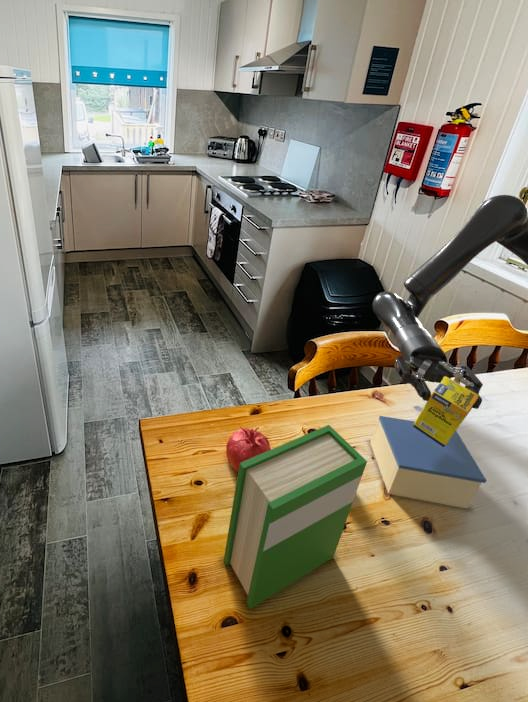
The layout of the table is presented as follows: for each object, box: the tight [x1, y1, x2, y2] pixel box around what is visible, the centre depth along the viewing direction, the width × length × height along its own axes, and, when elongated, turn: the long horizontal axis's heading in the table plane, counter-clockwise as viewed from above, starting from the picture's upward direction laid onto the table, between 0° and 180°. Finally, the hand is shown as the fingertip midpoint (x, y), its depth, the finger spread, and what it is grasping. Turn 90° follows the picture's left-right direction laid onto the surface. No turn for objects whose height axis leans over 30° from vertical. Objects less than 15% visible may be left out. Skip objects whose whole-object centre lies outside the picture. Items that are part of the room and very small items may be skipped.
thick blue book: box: [370, 418, 482, 510], centre depth 82 cm, size 15×13×8 cm
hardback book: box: [223, 424, 368, 610], centre depth 63 cm, size 18×7×24 cm, turn 116°
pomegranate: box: [225, 426, 272, 473], centre depth 83 cm, size 10×10×9 cm
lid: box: [378, 415, 487, 484], centre depth 80 cm, size 15×13×1 cm
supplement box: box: [413, 376, 480, 447], centre depth 75 cm, size 6×6×11 cm
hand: (452, 401), depth 73 cm, fingers closed on supplement box, 8 cm apart
